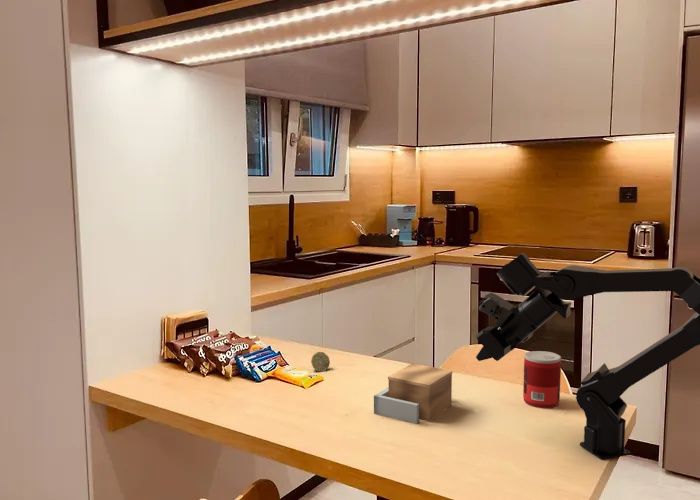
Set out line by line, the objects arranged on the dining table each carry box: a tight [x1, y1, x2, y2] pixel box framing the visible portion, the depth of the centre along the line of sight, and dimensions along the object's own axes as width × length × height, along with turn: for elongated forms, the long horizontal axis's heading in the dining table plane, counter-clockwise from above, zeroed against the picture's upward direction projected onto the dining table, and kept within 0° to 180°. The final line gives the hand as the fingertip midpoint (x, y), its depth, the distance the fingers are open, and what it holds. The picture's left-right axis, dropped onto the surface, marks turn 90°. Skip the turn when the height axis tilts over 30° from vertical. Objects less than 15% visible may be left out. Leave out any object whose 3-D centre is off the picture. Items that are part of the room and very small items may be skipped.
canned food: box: [522, 350, 562, 409], centre depth 138 cm, size 8×8×11 cm
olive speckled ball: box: [310, 351, 331, 372], centre depth 163 cm, size 4×5×5 cm
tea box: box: [387, 362, 453, 423], centre depth 135 cm, size 10×11×8 cm
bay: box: [373, 386, 420, 424], centre depth 136 cm, size 10×16×4 cm, turn 146°
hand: (477, 358), depth 126 cm, fingers closed
